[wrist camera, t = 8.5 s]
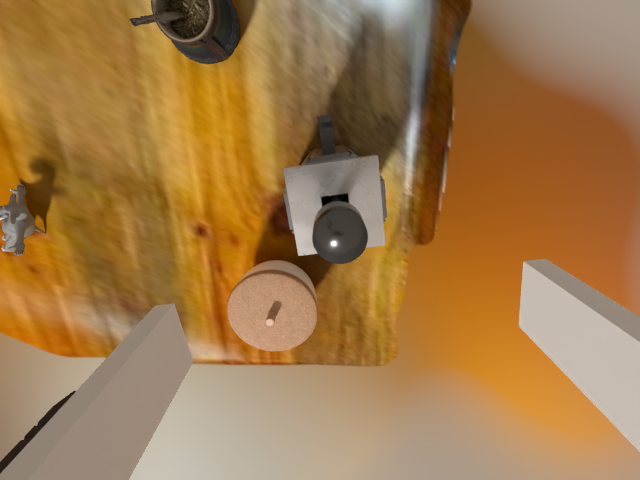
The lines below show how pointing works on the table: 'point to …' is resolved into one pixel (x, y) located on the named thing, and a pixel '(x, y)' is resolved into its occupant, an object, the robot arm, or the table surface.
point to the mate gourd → (197, 27)
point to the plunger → (339, 230)
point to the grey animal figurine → (16, 222)
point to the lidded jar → (273, 306)
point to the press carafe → (334, 188)
